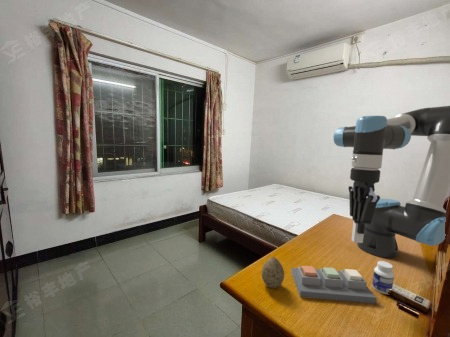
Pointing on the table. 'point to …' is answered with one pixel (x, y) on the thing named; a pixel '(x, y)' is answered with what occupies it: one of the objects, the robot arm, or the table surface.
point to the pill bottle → (383, 277)
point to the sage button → (330, 273)
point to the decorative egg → (272, 273)
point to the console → (332, 287)
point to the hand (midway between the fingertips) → (356, 241)
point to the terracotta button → (308, 271)
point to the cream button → (353, 274)
